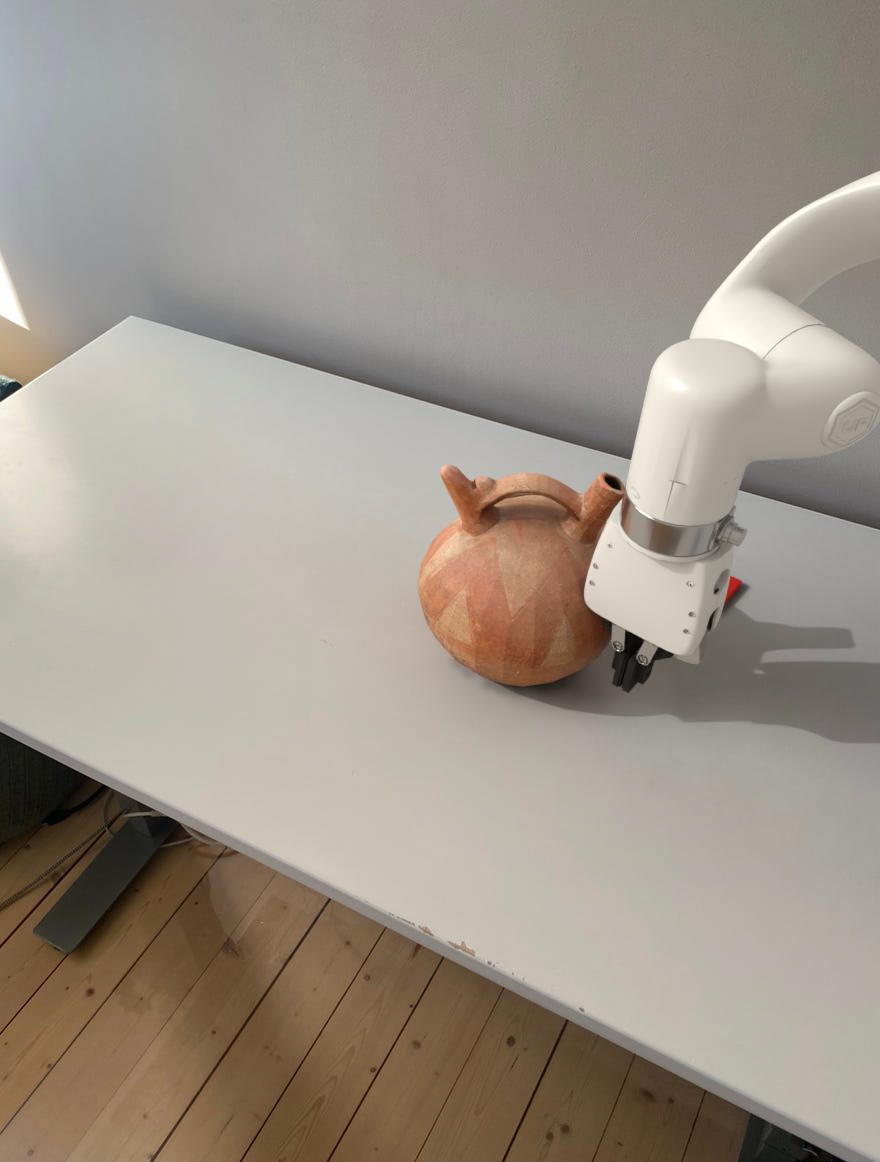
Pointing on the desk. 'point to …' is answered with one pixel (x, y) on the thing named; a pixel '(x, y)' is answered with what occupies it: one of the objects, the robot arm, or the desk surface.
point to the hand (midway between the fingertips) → (628, 679)
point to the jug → (517, 575)
